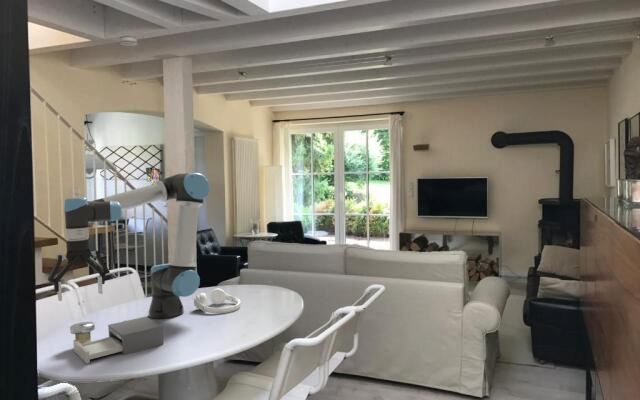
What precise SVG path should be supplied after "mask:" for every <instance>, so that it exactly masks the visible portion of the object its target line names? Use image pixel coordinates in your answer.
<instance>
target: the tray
mask: <svg viewBox="0 0 640 400" xmlns="http://www.w3.org/2000/svg"><path fill="white" fill-rule="evenodd" d="M72 342H73V351H74V352H75V354H76V355H78V357H79V358H80V359H81V360H82V361H83V362H84V363H85V364H86V365H87V364H90V363H91V361H90V360H93V359H97V358H100V357H101V358H102V357H105V356H108V355H113V354H116V353H117V354H118V353H121V352H120V351H123V343H121V342H120V341H119V340H117V339H116V338H112V337H109V336H108V337H103V338H99V339H95V340H91V341H90V342H86V343H82V344H81V343H80V342H78V341H77V340H75V339H73V341H72Z"/></svg>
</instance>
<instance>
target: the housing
mask: <svg viewBox="0 0 640 400" xmlns="http://www.w3.org/2000/svg"><path fill="white" fill-rule="evenodd" d="M107 329H108V337H112V338H116V339H117V340H119V341H120V342H121V343H123V351H120V352H119V353H121V354H122V355H123V356H125V355H129V354H133V353H137V352H140V351H145V350H148V349H152V348H156V347H159V346H162V345H164V330H163V325H162V324H160V323H159V322H157V321H155V320H154V319H151V318H150V317H147V316H143V317H138V318H133V319H132V318H131V319H128V320H124V321H119V322H115V323H109V324H107Z"/></svg>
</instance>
